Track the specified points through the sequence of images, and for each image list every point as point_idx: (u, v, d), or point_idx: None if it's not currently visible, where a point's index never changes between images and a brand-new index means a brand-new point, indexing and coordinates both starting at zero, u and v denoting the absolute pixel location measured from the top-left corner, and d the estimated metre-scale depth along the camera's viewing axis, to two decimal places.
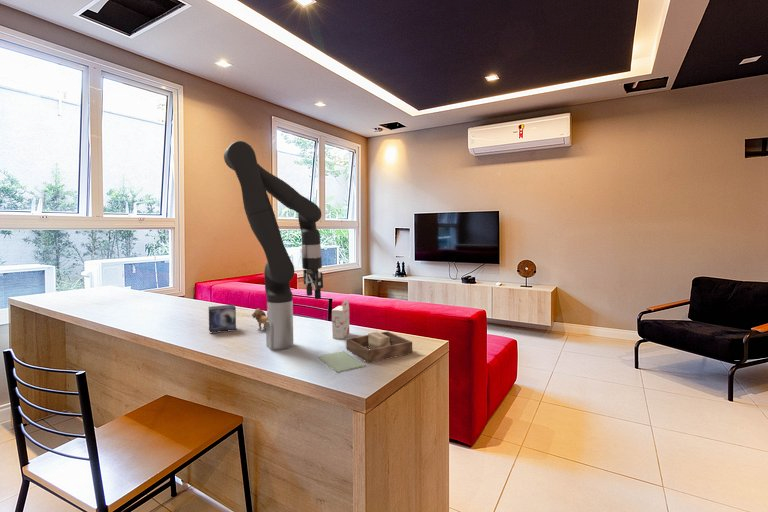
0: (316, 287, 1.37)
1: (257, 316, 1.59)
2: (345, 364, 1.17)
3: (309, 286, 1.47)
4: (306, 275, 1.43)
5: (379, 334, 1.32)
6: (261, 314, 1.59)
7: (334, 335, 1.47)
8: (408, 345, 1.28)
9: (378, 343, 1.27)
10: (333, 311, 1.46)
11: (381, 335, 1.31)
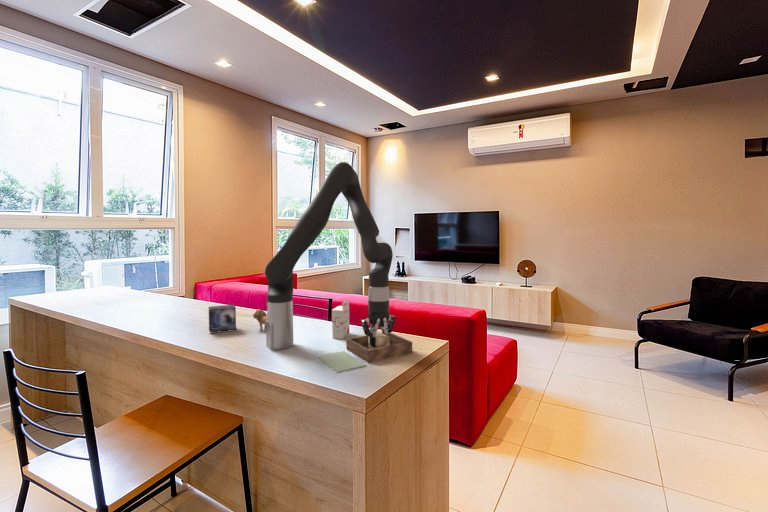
0: (391, 331, 1.32)
1: (258, 317, 1.58)
2: (345, 364, 1.17)
3: None
4: (378, 321, 1.28)
5: (379, 333, 1.32)
6: (262, 315, 1.58)
7: (334, 335, 1.47)
8: (408, 345, 1.28)
9: (378, 343, 1.27)
10: (333, 311, 1.46)
11: (381, 335, 1.31)
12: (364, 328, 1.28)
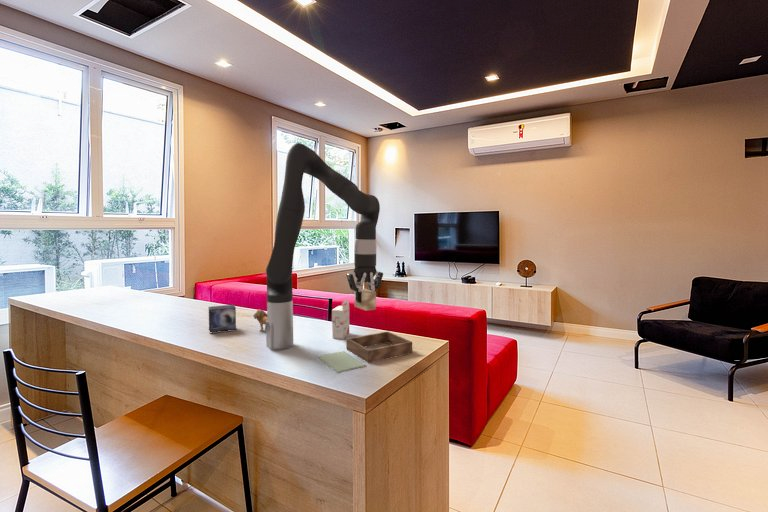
0: (378, 287, 1.28)
1: (259, 317, 1.58)
2: (345, 364, 1.17)
3: None
4: (364, 275, 1.24)
5: (365, 290, 1.28)
6: (263, 315, 1.58)
7: (334, 335, 1.47)
8: (408, 345, 1.28)
9: (364, 298, 1.23)
10: (333, 311, 1.46)
11: (367, 290, 1.26)
12: (350, 282, 1.23)
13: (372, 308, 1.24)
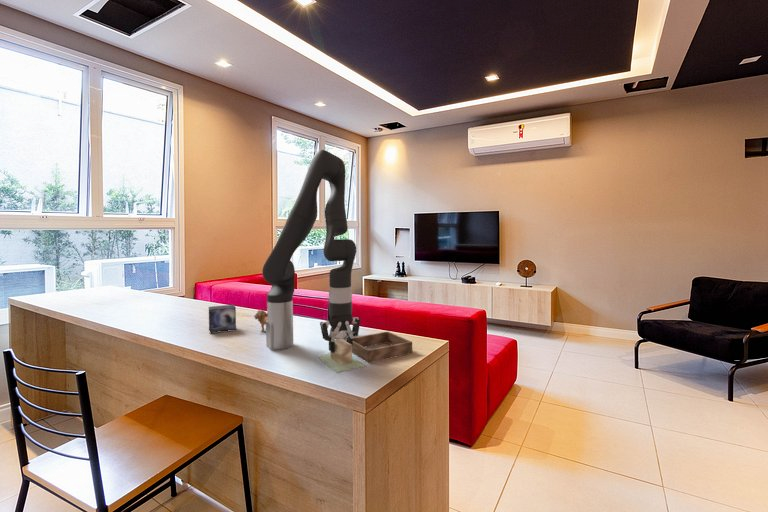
0: (357, 334, 1.22)
1: (260, 317, 1.57)
2: (345, 364, 1.17)
3: None
4: (339, 324, 1.18)
5: (342, 341, 1.22)
6: (264, 315, 1.57)
7: None
8: (408, 345, 1.28)
9: (339, 351, 1.17)
10: None
11: (343, 342, 1.20)
12: (322, 331, 1.17)
13: (348, 362, 1.18)
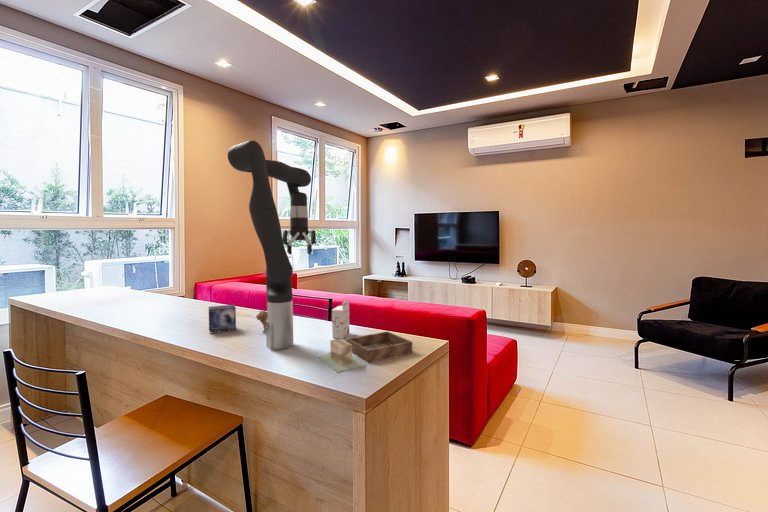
0: (315, 242, 1.62)
1: (262, 318, 1.56)
2: (345, 364, 1.17)
3: None
4: (297, 234, 1.57)
5: (342, 341, 1.22)
6: (266, 316, 1.56)
7: (334, 335, 1.47)
8: (408, 345, 1.28)
9: (339, 351, 1.17)
10: (333, 311, 1.46)
11: (343, 342, 1.20)
12: (283, 236, 1.56)
13: (348, 362, 1.18)
